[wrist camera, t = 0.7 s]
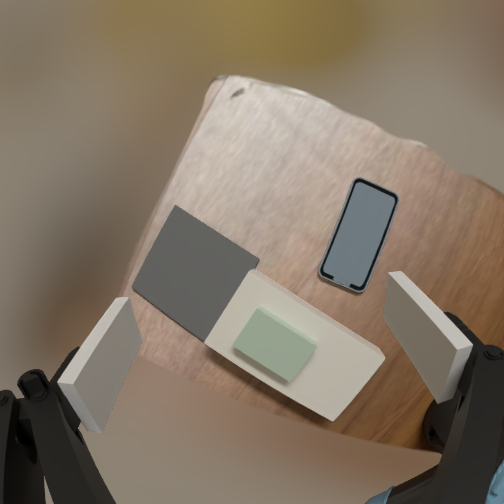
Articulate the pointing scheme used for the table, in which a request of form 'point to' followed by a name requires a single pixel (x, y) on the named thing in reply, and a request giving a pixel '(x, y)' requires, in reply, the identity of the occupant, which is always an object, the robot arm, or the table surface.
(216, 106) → the table surface
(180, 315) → the mat
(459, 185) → the table surface
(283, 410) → the table surface
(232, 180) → the table surface
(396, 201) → the smartphone
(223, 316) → the board
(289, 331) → the tile
